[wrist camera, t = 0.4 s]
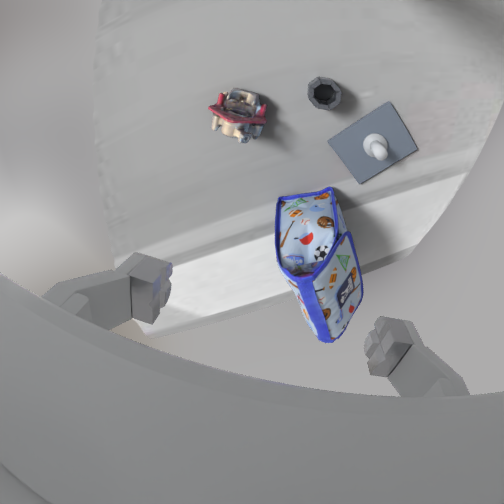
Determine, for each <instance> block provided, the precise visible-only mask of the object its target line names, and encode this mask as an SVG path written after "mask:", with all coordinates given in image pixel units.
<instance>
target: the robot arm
mask: <svg viewBox="0 0 504 504" xmlns="http://www.w3.org/2000/svg"><path fill="white" fill-rule="evenodd" d="M172 268H173V266H172V263H170V262H167V261H163V260H160V259H157V258H154V257H151V256H147V255H145V254H141V253H138V252H135V253H133V254H132V255H131V256H130V257H129V258H128V259H127V260H125V261H124V262H123V263H122V264H121V265H120V266H119V267H118V268H117V269H116V270H115V271H113V270H108V271H103V272H99V273H95V274H91V275H87V276H82V277H78V278H74V279H70V280H66V281H63V282H58V283H57V284H56V285H54V286H53V287H52V288H51V289H50V290H49V291H47V293H45V294H44V295H43V296H42V297H40V296H38V295H36V294H34V293H33V292H31V291H29V290H28V289H26V288H24V287H23V286H21V285H19V284H18V283H16V282H14V281H13V280H11V279H10V278H8V277H7V276H5V275H3V274H2V273H0V504H504V392H496V393H488V394H479V395H470V393H469V391H468V389H467V387H466V385H465V382H464V380H463V378H462V377H461V376H460V375H459V374H457V373H456V372H455V371H454V370H453V369H452V368H451V367H450V366H448V365H447V364H446V363H445V362H444V361H443V360H442V359H441V358H439V357H438V356H437V355H436V354H435V353H434V352H433V351H432V350H430V349H429V348H428V347H425V346H424V344H423V342H422V340H421V338H420V336H419V334H418V332H417V330H416V328H415V326H414V324H413V323H412V322H411V321H407V320H400V319H394V318H389V317H383V316H380V317H379V318H378V319H377V320H376V322H375V324H374V325H375V329H374V330H372V331H371V332H369V334H368V336H367V338H366V340H365V344H364V352H365V355H366V356H367V357H368V358H369V361H368V362H367V364H368V368H369V372H370V375H375V376H382V377H388V379H389V381H390V382H391V384H392V385H393V386H394V388H395V389H396V390H397V392H398V393H399V394H400V396H401V397H395V396H376V395H363V394H353V393H343V392H334V391H327V390H319V389H313V388H307V387H300V386H294V385H289V384H283V383H278V382H273V381H268V380H263V379H259V378H254V377H250V376H246V375H242V374H237V373H233V372H230V371H225V370H221V369H218V368H214V367H211V366H207V365H204V364H200V363H197V362H194V361H191V360H187V359H184V358H181V357H178V356H175V355H172V354H169V353H166V352H163V351H160V350H158V349H155V348H152V347H149V346H146V345H144V344H141V343H138V342H136V341H133V340H131V339H128V338H126V337H123V336H121V335H118V334H116V333H114V332H111V331H109V330H110V329H112V328H114V327H116V326H118V325H120V324H122V323H124V322H126V321H128V320H130V319H132V318H134V319H137V320H140V321H143V322H146V323H149V324H152V325H153V323H154V322H155V320H156V318H157V317H158V315H159V314H160V308H162V307H164V306H165V304H166V303H167V301H168V298H169V296H170V291H171V282H170V280H169V277H170V276H171V275H172Z"/></svg>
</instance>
